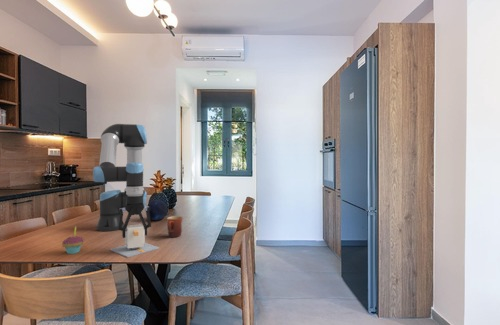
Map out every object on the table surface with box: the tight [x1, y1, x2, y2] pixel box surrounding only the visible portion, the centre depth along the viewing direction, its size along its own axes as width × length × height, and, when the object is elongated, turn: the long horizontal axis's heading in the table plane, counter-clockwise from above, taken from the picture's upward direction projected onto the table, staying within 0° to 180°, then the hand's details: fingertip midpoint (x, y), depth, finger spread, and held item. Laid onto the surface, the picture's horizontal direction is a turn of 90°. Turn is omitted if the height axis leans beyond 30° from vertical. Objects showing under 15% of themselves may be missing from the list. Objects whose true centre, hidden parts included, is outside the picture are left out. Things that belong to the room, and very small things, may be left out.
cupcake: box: [61, 225, 85, 255], centre depth 131 cm, size 9×8×12 cm
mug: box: [166, 215, 184, 238], centre depth 157 cm, size 12×9×10 cm
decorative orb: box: [147, 199, 168, 222], centre depth 200 cm, size 14×15×15 cm
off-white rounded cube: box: [126, 224, 144, 248], centre depth 133 cm, size 10×7×9 cm, turn 28°
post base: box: [109, 242, 160, 258], centre depth 135 cm, size 16×16×6 cm
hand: (134, 243), depth 135 cm, fingers closed on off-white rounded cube, 7 cm apart
